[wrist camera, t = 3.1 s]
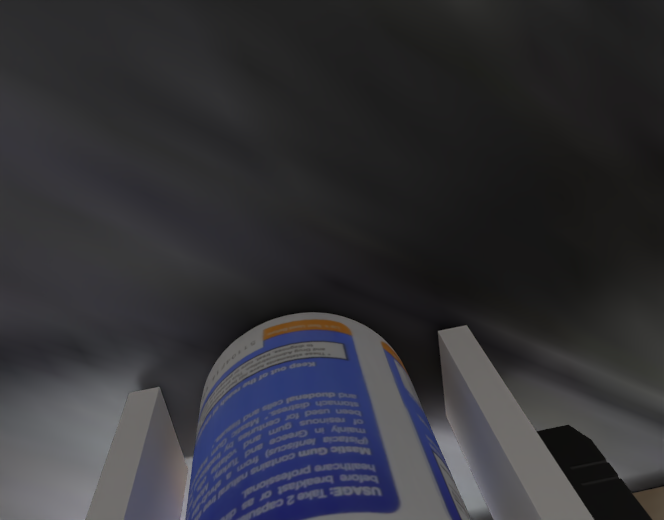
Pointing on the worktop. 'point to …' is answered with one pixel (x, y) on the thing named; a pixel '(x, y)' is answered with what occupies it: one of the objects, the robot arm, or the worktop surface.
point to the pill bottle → (316, 430)
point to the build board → (652, 502)
